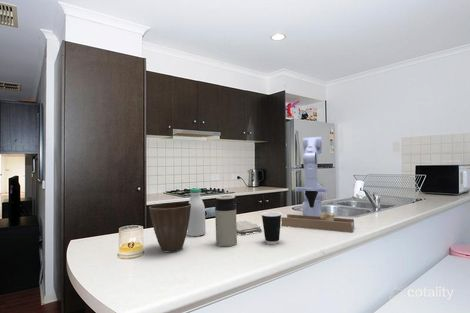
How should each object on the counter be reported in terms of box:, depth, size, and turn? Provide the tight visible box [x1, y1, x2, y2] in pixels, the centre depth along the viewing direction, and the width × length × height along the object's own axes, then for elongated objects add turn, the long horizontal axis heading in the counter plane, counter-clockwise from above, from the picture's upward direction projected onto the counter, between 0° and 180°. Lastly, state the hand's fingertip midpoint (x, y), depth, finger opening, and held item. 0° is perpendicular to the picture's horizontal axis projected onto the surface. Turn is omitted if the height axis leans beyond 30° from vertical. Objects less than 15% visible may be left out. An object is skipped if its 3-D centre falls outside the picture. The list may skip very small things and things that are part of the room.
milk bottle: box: [187, 187, 206, 237], centre depth 120 cm, size 8×8×20 cm
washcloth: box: [236, 220, 263, 234], centre depth 127 cm, size 12×18×3 cm, turn 28°
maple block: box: [320, 211, 335, 221], centre depth 126 cm, size 5×5×4 cm
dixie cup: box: [260, 211, 282, 245], centre depth 106 cm, size 8×8×11 cm
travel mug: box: [214, 194, 238, 247], centre depth 106 cm, size 8×8×18 cm
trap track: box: [281, 213, 355, 234], centre depth 128 cm, size 31×9×4 cm, turn 60°
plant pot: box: [148, 201, 191, 252], centre depth 101 cm, size 15×15×16 cm
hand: (311, 207), depth 129 cm, fingers closed
